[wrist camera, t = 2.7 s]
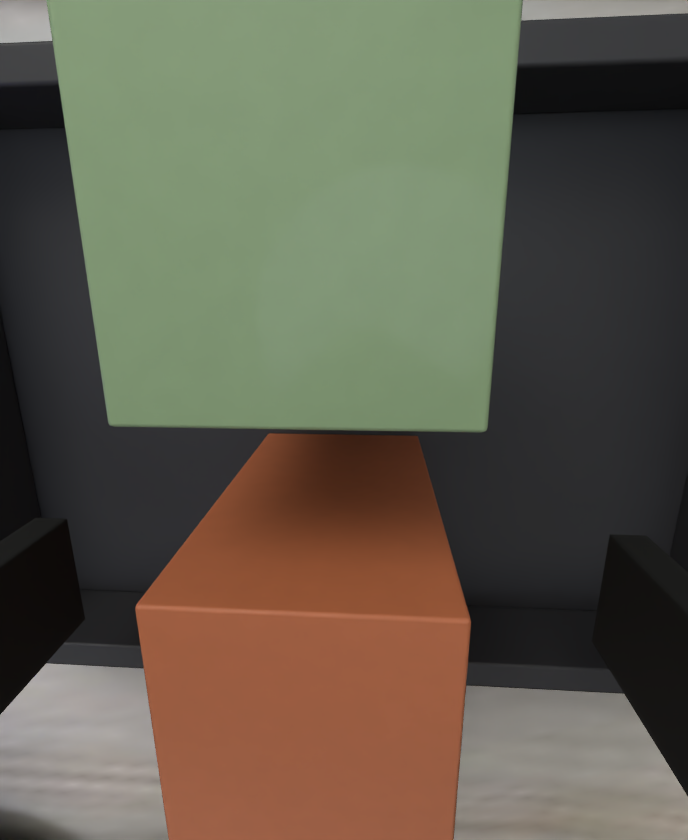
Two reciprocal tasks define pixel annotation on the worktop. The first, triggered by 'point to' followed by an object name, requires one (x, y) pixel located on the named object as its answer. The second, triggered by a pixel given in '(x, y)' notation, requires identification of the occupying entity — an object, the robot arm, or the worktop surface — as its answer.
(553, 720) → the worktop surface
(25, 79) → the pan
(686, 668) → the robot arm
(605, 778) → the worktop surface
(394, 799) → the block
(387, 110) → the block
